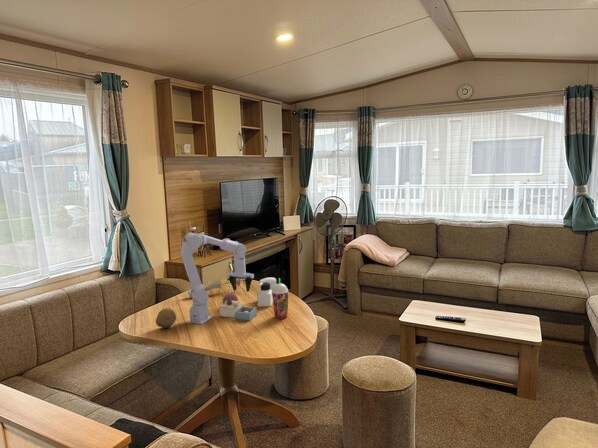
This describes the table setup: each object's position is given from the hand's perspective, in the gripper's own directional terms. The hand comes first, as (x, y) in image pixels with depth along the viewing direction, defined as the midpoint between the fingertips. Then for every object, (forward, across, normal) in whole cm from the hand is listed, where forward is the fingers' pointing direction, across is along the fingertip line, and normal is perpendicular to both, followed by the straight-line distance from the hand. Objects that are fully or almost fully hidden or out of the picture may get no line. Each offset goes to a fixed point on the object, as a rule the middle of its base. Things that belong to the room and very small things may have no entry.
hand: (241, 290), depth 216 cm
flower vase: (+11, +26, -20) cm, 35 cm away
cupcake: (+8, +11, -4) cm, 14 cm away
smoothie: (+11, -24, +5) cm, 27 cm away
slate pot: (+10, -7, +10) cm, 16 cm away
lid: (+6, +3, +8) cm, 10 cm away
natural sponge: (+11, +24, +32) cm, 41 cm away
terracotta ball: (+8, -7, +10) cm, 15 cm away
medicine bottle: (+11, -9, -10) cm, 17 cm away
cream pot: (+10, +3, +8) cm, 13 cm away
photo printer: (+11, -7, -19) cm, 23 cm away
